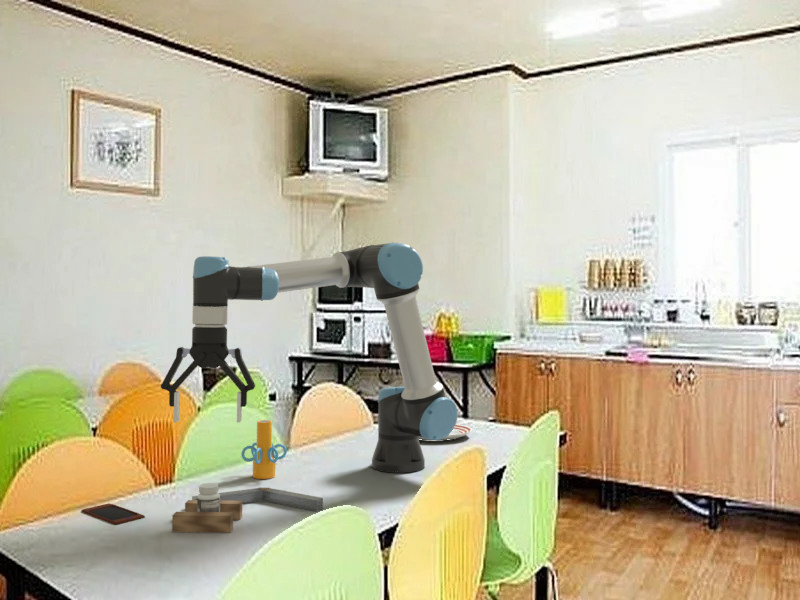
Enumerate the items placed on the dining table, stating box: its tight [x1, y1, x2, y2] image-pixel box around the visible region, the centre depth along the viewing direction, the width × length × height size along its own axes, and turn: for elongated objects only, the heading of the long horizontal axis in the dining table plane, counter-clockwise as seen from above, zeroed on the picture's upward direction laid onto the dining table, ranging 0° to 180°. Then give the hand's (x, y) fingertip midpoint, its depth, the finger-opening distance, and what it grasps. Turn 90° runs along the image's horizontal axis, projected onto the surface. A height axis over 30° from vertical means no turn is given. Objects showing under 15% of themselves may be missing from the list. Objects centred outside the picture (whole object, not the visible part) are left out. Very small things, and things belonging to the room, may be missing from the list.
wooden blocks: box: [171, 499, 243, 534], centre depth 158 cm, size 12×11×4 cm
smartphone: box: [81, 503, 146, 526], centre depth 164 cm, size 7×1×15 cm
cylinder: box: [241, 419, 288, 480], centre depth 199 cm, size 12×10×15 cm
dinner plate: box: [419, 423, 473, 440], centre depth 257 cm, size 27×27×3 cm
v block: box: [191, 487, 324, 512], centre depth 173 cm, size 30×10×2 cm, turn 89°
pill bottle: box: [197, 482, 220, 512], centre depth 158 cm, size 5×5×8 cm
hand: (208, 421), depth 164 cm, fingers open, 13 cm apart
